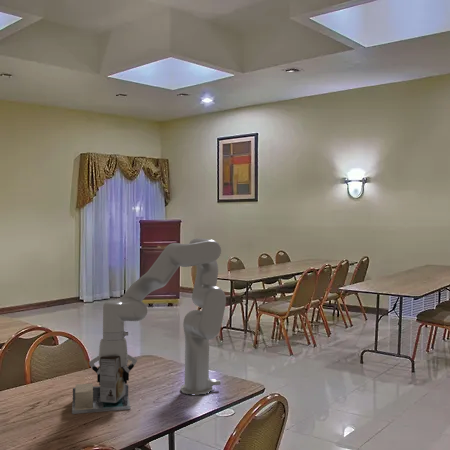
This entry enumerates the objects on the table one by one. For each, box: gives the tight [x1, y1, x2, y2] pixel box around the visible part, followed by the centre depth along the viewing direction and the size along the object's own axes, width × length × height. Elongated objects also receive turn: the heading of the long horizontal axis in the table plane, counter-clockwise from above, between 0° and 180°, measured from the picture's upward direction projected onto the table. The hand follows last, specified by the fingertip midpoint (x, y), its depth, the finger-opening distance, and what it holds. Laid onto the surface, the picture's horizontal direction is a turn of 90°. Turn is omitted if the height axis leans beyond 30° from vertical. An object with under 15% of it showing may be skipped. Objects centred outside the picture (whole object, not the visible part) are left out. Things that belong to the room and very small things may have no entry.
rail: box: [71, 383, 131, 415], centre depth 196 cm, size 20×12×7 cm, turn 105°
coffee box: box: [99, 356, 126, 403], centre depth 195 cm, size 9×6×16 cm
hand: (113, 383), depth 196 cm, fingers closed on coffee box, 8 cm apart
